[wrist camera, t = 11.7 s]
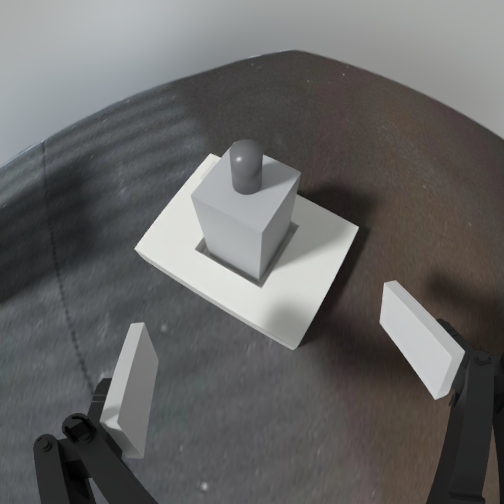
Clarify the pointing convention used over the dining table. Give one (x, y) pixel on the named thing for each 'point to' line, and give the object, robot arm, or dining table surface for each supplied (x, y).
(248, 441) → the dining table surface
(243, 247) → the plug
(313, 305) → the socket plate
